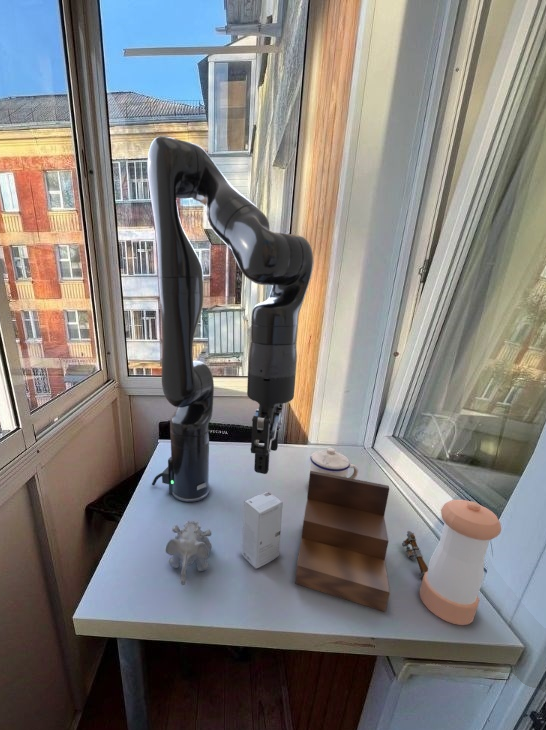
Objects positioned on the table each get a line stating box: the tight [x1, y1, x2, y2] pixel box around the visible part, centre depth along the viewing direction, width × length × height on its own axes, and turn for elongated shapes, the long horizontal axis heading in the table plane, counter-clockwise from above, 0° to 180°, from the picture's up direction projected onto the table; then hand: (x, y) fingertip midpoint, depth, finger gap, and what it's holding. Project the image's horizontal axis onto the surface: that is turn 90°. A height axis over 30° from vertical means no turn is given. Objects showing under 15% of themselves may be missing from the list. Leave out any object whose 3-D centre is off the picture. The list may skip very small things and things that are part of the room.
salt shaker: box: [419, 499, 502, 626], centre depth 51 cm, size 7×7×19 cm
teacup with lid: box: [307, 447, 359, 486], centre depth 82 cm, size 12×9×12 cm
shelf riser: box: [294, 470, 391, 612], centre depth 60 cm, size 14×15×14 cm
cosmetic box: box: [241, 491, 284, 569], centre depth 62 cm, size 6×4×12 cm
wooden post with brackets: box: [401, 530, 429, 579], centre depth 62 cm, size 2×8×4 cm, turn 177°
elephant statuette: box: [165, 520, 213, 586], centre depth 60 cm, size 9×12×8 cm
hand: (266, 460), depth 58 cm, fingers open, 8 cm apart
